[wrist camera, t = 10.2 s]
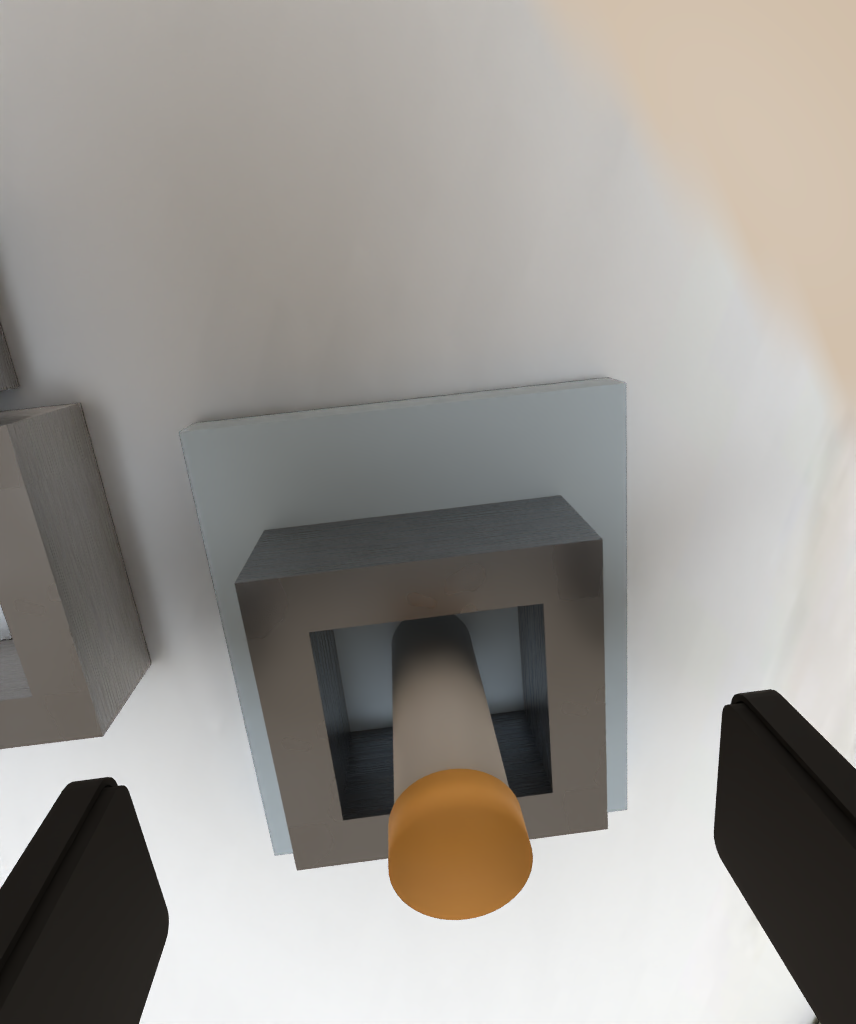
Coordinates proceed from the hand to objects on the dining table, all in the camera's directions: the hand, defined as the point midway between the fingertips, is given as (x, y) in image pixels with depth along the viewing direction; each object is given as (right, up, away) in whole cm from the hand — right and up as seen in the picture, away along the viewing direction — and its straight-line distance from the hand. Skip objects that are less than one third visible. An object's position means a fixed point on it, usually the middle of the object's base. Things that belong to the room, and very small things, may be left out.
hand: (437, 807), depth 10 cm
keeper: (0, +2, +7) cm, 7 cm away
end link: (0, +1, +6) cm, 6 cm away
